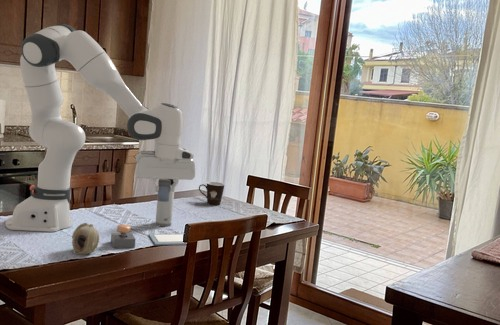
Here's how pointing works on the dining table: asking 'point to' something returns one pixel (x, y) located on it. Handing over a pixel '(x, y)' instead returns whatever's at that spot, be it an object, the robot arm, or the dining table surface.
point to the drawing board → (167, 239)
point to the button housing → (122, 240)
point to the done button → (123, 229)
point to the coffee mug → (213, 192)
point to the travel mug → (165, 210)
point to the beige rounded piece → (85, 239)
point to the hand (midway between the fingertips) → (163, 191)
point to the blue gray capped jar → (164, 190)
